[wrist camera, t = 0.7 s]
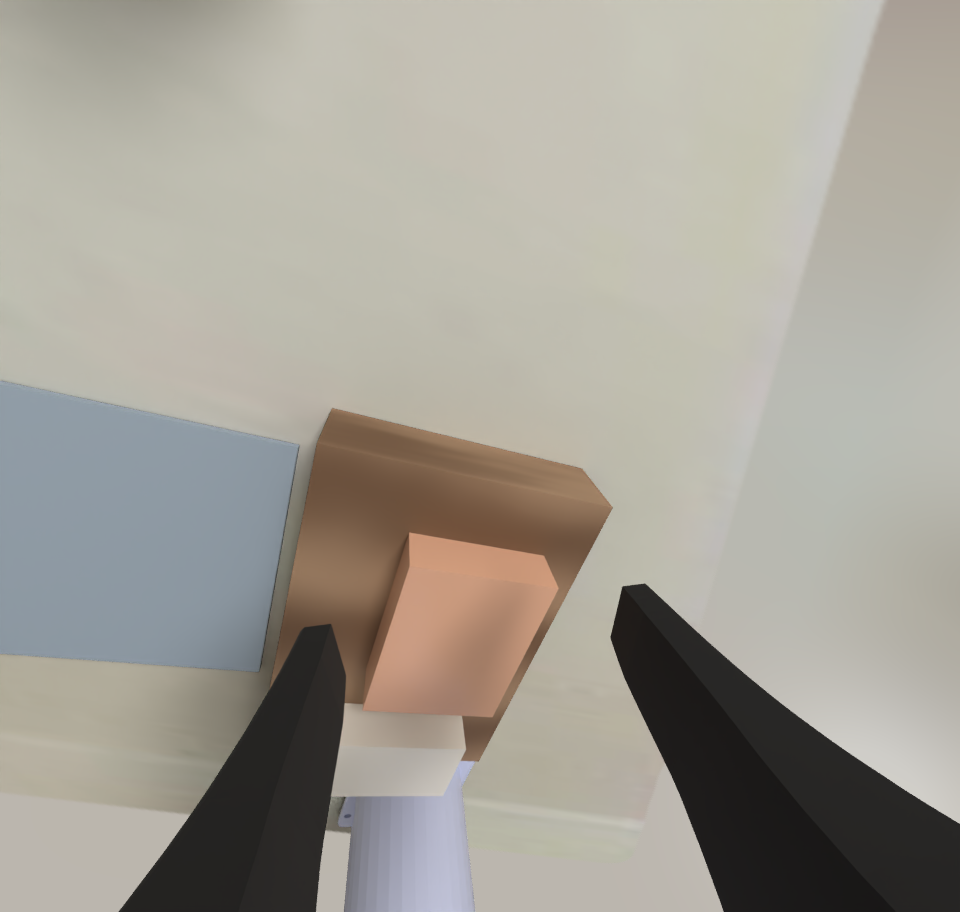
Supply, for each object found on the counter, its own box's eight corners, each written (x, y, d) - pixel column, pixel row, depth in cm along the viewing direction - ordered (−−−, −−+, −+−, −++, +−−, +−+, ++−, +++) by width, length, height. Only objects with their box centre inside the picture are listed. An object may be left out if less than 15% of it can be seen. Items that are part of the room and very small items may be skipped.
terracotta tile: (485, 678, 22) (492, 717, 20) (365, 669, 20) (362, 710, 18) (543, 555, 19) (558, 588, 17) (409, 532, 17) (409, 566, 15)
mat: (260, 667, 23) (258, 672, 23) (-13, 646, 20) (-18, 652, 20) (299, 445, 18) (297, 447, 18) (-62, 367, 15) (-71, 369, 15)
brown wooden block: (470, 703, 28) (478, 761, 25) (274, 692, 24) (256, 756, 21) (582, 468, 21) (612, 507, 18) (332, 408, 18) (317, 442, 15)
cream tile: (439, 755, 24) (442, 796, 22) (309, 752, 22) (301, 796, 20) (461, 709, 22) (466, 749, 21) (323, 701, 20) (315, 745, 19)
